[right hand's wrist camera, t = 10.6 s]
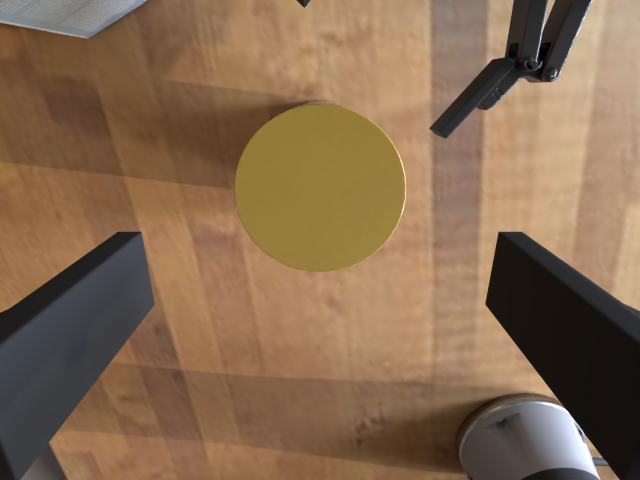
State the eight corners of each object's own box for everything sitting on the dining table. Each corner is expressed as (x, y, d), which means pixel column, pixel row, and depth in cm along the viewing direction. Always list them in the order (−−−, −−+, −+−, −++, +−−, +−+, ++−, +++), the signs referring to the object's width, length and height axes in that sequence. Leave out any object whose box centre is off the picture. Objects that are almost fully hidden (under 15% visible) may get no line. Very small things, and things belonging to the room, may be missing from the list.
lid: (430, 145, 22) (438, 149, 21) (358, 282, 26) (360, 294, 24) (273, 73, 21) (269, 72, 19) (218, 227, 24) (211, 236, 23)
